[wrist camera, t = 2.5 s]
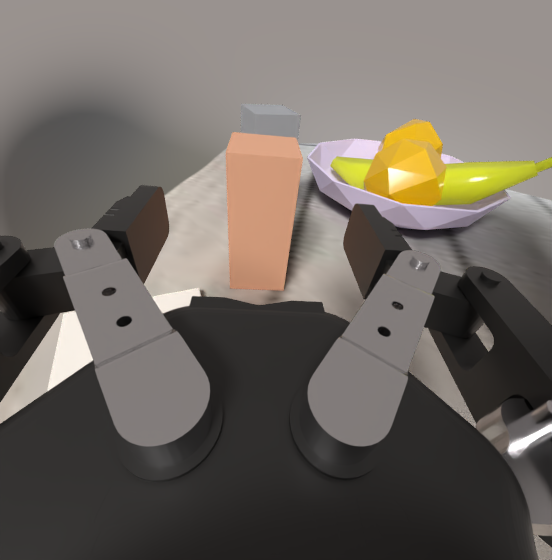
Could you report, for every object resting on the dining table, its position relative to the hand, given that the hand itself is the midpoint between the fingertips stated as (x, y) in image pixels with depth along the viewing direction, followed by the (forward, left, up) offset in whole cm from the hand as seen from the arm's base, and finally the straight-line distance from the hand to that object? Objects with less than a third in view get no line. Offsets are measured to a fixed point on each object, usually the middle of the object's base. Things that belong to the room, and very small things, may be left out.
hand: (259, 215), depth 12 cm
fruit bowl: (-29, -19, -12) cm, 36 cm away
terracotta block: (-4, -10, -12) cm, 16 cm away
